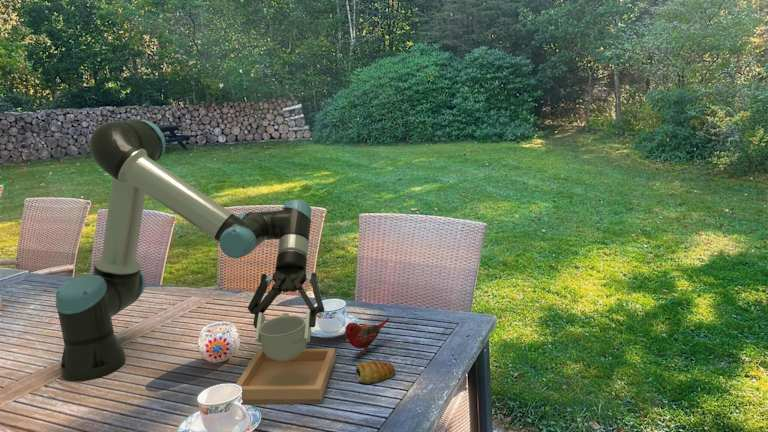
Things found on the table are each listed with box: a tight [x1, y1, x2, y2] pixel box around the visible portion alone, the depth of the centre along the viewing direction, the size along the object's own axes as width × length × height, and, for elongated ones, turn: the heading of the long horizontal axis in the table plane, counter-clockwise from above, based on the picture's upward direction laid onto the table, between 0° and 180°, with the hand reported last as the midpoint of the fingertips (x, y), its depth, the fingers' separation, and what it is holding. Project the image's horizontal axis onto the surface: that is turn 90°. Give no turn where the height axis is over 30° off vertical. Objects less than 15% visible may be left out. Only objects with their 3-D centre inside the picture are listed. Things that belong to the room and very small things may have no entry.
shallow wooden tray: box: [235, 347, 337, 404], centre depth 136 cm, size 20×20×4 cm
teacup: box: [258, 312, 308, 361], centre depth 134 cm, size 14×11×8 cm
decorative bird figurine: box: [343, 317, 390, 356], centre depth 150 cm, size 3×18×10 cm, turn 139°
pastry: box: [355, 360, 396, 385], centre depth 137 cm, size 9×7×4 cm
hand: (282, 340), depth 131 cm, fingers closed on teacup, 11 cm apart
